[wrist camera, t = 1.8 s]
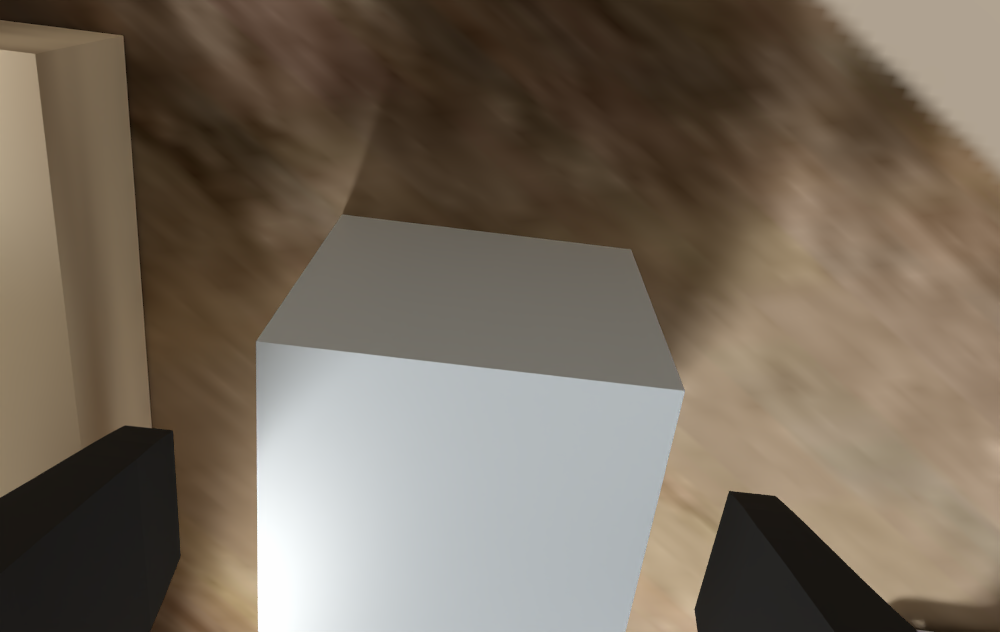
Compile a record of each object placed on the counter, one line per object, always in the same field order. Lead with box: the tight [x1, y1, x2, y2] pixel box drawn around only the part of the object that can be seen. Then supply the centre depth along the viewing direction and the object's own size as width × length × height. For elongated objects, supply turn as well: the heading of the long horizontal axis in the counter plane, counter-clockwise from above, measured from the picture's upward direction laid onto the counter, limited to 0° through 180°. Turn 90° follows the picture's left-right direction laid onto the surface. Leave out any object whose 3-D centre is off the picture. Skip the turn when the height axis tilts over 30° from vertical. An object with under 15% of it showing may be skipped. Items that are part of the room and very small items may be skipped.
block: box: [256, 214, 685, 632], centre depth 13 cm, size 5×5×5 cm
